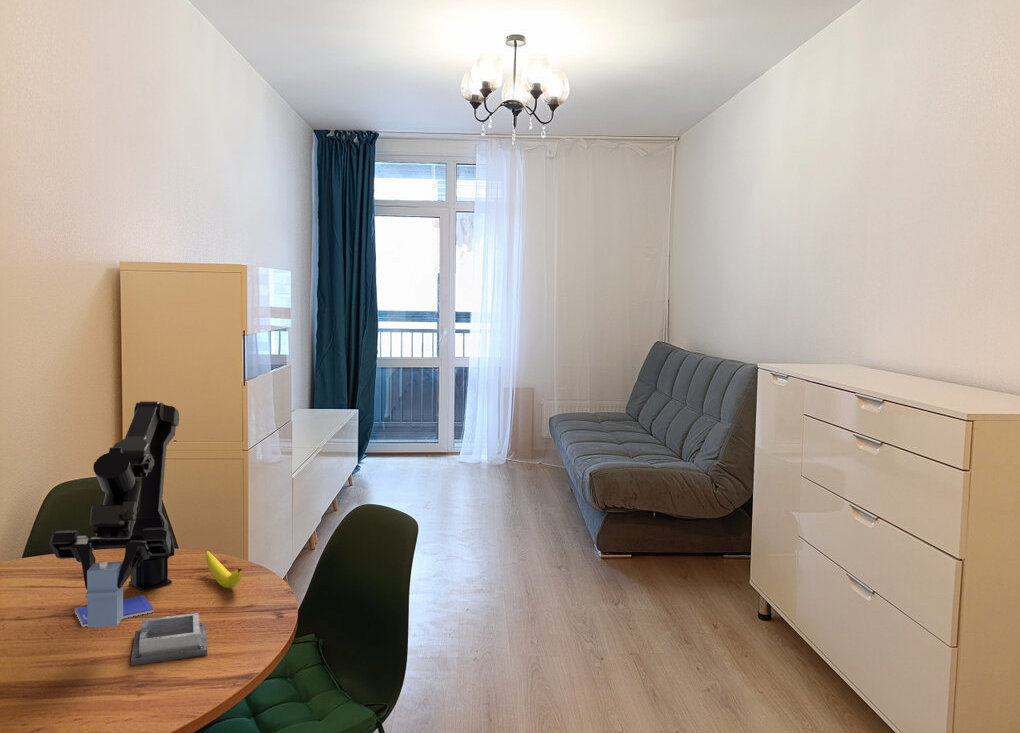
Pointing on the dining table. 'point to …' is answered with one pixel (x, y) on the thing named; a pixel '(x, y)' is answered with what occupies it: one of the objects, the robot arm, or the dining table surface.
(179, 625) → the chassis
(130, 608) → the hard drive
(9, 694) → the dining table surface
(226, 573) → the banana
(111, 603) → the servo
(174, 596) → the dining table surface
